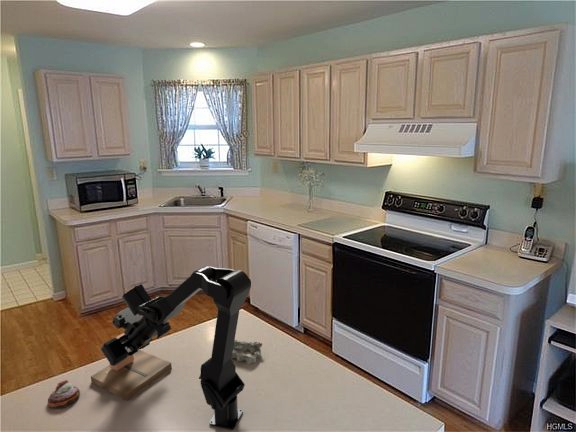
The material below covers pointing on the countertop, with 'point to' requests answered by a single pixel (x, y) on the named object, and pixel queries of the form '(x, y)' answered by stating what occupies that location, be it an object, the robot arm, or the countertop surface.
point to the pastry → (63, 395)
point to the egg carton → (246, 346)
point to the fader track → (132, 375)
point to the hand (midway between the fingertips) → (124, 351)
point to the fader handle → (125, 361)
